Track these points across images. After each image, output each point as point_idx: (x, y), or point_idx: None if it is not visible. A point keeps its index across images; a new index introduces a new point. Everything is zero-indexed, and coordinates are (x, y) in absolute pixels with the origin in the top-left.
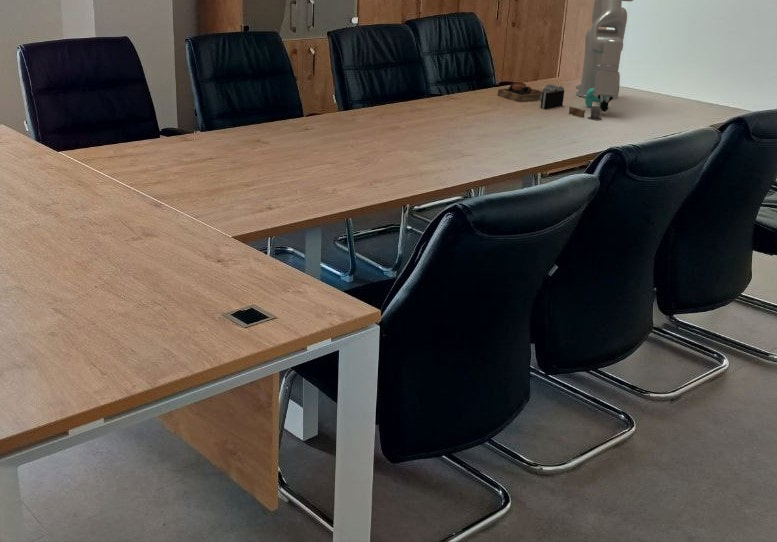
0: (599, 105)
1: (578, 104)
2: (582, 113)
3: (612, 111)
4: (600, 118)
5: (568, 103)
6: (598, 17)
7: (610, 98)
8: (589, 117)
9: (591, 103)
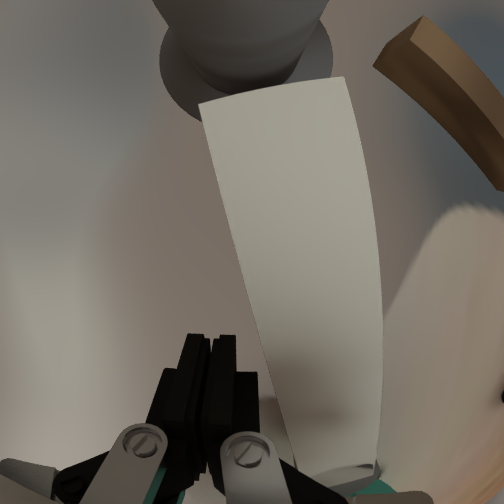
0: (295, 465)
1: (413, 477)
2: (405, 31)
3: (206, 473)
4: (179, 81)
5: (455, 458)
6: None
7: (86, 482)
8: (311, 50)
9: (360, 493)
